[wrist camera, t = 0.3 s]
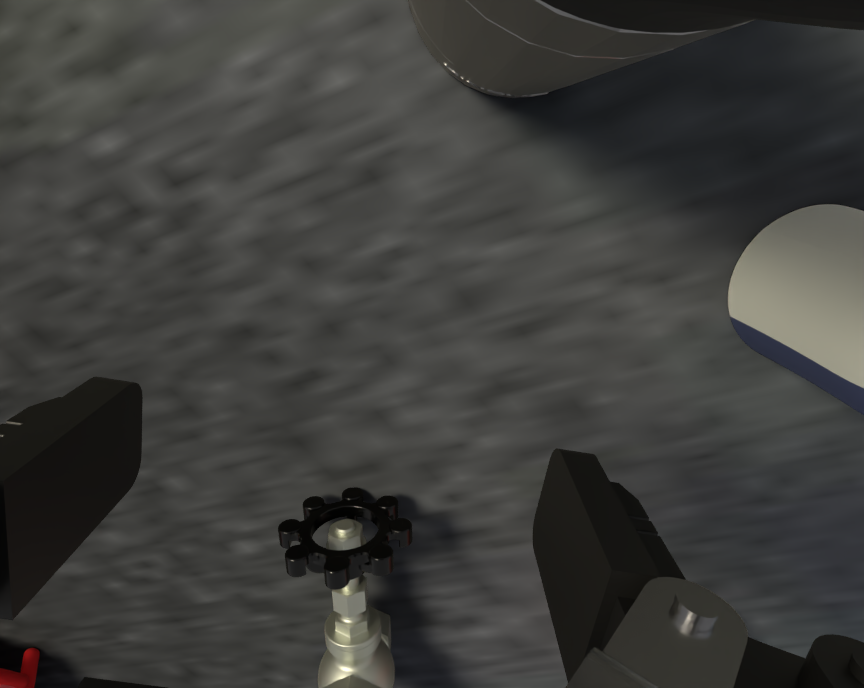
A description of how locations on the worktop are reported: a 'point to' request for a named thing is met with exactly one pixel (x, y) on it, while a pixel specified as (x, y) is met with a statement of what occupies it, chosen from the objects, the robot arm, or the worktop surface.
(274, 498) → the worktop surface
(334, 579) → the valve
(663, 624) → the robot arm
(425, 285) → the worktop surface
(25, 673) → the cap
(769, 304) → the water bottle
